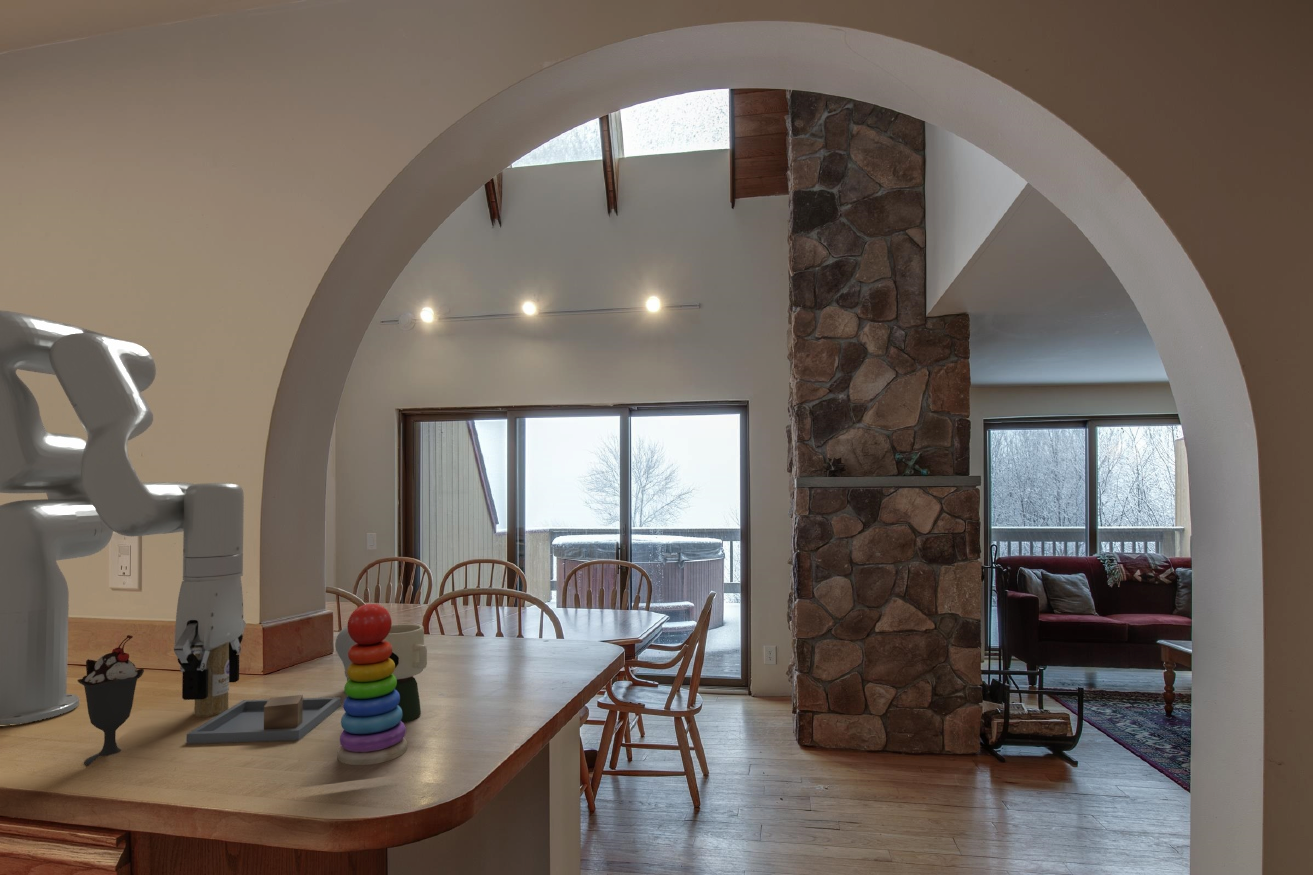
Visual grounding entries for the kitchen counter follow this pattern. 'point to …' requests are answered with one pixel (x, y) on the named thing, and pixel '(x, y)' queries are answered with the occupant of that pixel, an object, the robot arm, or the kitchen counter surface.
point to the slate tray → (259, 723)
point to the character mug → (408, 665)
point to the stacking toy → (371, 693)
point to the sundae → (110, 695)
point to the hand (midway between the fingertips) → (211, 689)
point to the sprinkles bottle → (215, 683)
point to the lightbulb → (344, 648)
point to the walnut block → (283, 712)
